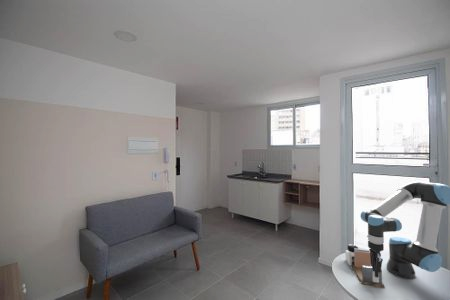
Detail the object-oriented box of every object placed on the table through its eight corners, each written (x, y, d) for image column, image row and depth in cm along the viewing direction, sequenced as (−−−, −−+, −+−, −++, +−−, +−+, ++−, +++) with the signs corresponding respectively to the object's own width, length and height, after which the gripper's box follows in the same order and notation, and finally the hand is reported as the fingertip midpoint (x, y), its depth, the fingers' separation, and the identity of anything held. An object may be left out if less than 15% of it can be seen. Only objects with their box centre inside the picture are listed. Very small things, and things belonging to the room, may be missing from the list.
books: (369, 266, 143) (369, 250, 143) (370, 268, 141) (370, 251, 141) (354, 264, 146) (353, 248, 146) (355, 266, 143) (354, 249, 144)
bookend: (380, 282, 126) (380, 267, 126) (382, 284, 124) (381, 269, 124) (362, 279, 129) (362, 265, 129) (363, 281, 127) (363, 267, 127)
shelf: (371, 268, 143) (371, 266, 143) (384, 287, 123) (384, 285, 123) (351, 265, 147) (351, 263, 147) (361, 284, 127) (361, 281, 127)
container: (361, 266, 146) (360, 248, 146) (349, 265, 148) (349, 247, 148) (356, 260, 154) (356, 243, 154) (345, 259, 155) (345, 243, 155)
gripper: (364, 236, 128) (364, 273, 128) (372, 245, 116) (372, 286, 115) (378, 238, 126) (378, 276, 125) (388, 247, 113) (388, 289, 113)
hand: (375, 281), depth 120 cm, fingers closed
